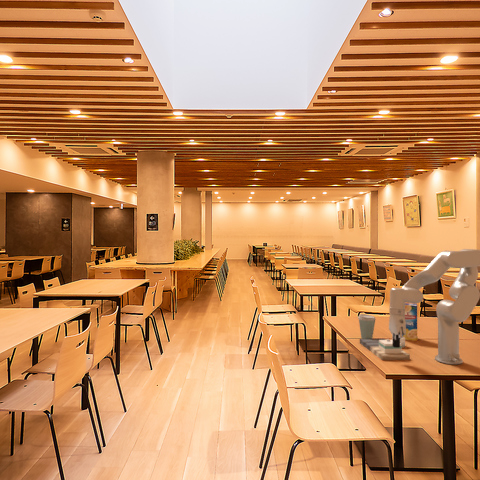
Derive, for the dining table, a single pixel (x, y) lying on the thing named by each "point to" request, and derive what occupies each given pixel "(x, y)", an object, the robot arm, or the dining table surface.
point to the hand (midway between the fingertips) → (396, 346)
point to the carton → (389, 346)
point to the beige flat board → (374, 348)
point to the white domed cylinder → (402, 341)
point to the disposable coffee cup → (366, 326)
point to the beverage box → (411, 321)
